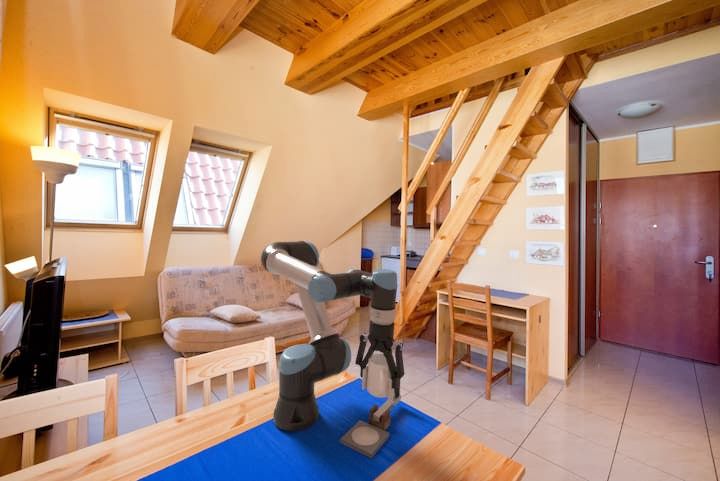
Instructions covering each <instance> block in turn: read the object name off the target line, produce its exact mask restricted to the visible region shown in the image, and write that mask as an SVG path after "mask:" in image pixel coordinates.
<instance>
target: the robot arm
mask: <svg viewBox="0 0 720 481" xmlns="http://www.w3.org/2000/svg"><path fill="white" fill-rule="evenodd" d="M260 263H261V266H262V267H263V268H264V270H265V271H267V272H268V273H270V274H271V275H275V276H276V275H278V276H279V275H280V276H281V277H283V278H285V279H287V280H289V281H291V282H293V283H294V284H295V287H296V290H297V294H298V297H299V301H300V304H301V308H302V310H303V314H304V318H305V322H306V324H307V328H308V331H309V335H310V340H309V342H308V343H302V344H298V343H297V344H294V345H292V346H289V347H287V348H286V349H284V350H283V351H282V353H281V355H280V358H279V364H278V371H279V372H278V373H279V380H278V384H279V387H278V390H279V391H278V395H279V396H278V398H277V402H276V404H275V408H274V411H273V423H274V426H276V427H277V428H278V429H280V430H283V431H285V432H301V431H303V430H307V429H310V428H311V427H312V426H314V425H315V424H316V423H317V422H318V420H319V418H320V417H319V416H320V408H319V405H318V403H317V398H316V396H315V384H316V383H319V382H320V381H323V380H326V379H328V378H331V377H333V376H338V375H340V374H341V373H343V372H345V371H346V370H348V368H349V367H350V364H351V362H352V350H351V347H350V344H349V343H348V341H347V340H346V339H344V338H340V334H339V332H338V331H336V330H334V329H333V326H332V322H331V319H330V315H329V313H328V309H327V307H326V304H325V303H329V302H331V301H337V300H341V299H346V298H351V297H357V296H362V297H365V298H368V299H370V311H369V312H370V313H369V319H370V320H369V326H368V330H369V331H368V334H367V333H366V332H363V333H362V334H361V335H359V345H358V350H357V353H356V357H355V362H354V363H355V365H357V366H359V367H360V370H359V371H360V373H359V374H360V375H359V376H360V378H362V380H361V390H363V391H364V390H366V389H367V377H368V361H369V358H371V357H372V355H373V354H375V351H376V352H380V353H382V354H384V357H385V358H386V361H387V364H388V367H389V370H390V373H391V377H390V378H389V389H388V397H387V400H388V399H389V400H391V398H392V397H393V396H394V389H395V388H396V387H397V384H398V378H399V379H400V380H401V379H402V378H403V377H404V375H405V367H404V365H405V364H404V357H403V347H404V344H403V343H402V342H400V343H399V342H396V341H395V339H394V335H395V320H396V304H397V302H396V301H397V291H398V286H399V285H398V274H397V272H396V271H395V270H391V269H387V268H376V269H374V270H373V271H372V273H371V272H368V271H363V270H361V269H354V268H350V269H348V270H347V271H346V272H343V273H330V272H327V271H324V270H323V269H320V268H318V266H319V263H320V252H319V250H318V248H317V246H316V245H315V244H314V243H312V242H310V241H304V240H298V241H276V242H272V243H270V244H268V245H267V246H266V247H265V248H264V249H263V250H262V252H261V255H260ZM368 342H369V343H370V346H368V350H367V352H366V354H365V351H366V347H367V343H368ZM392 347H393V349H392ZM393 350H394V351H395V352H394V356H395V357H394V356H393ZM364 355H365V356H364ZM394 359H395V361H394Z"/></svg>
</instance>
